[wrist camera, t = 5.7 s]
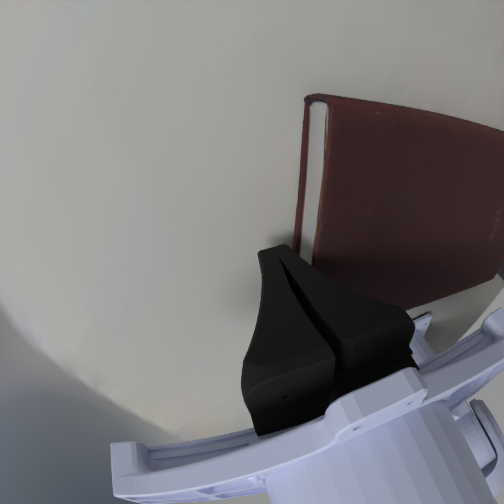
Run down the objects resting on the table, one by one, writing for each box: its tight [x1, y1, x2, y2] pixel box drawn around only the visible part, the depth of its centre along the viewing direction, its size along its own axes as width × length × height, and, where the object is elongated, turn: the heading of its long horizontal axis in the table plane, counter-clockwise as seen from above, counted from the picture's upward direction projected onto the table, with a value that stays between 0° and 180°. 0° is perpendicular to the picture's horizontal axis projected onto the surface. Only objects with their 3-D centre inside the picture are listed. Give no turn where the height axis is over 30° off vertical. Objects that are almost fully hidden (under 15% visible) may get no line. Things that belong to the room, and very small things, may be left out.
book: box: [293, 93, 504, 311], centre depth 15 cm, size 12×19×3 cm, turn 89°
